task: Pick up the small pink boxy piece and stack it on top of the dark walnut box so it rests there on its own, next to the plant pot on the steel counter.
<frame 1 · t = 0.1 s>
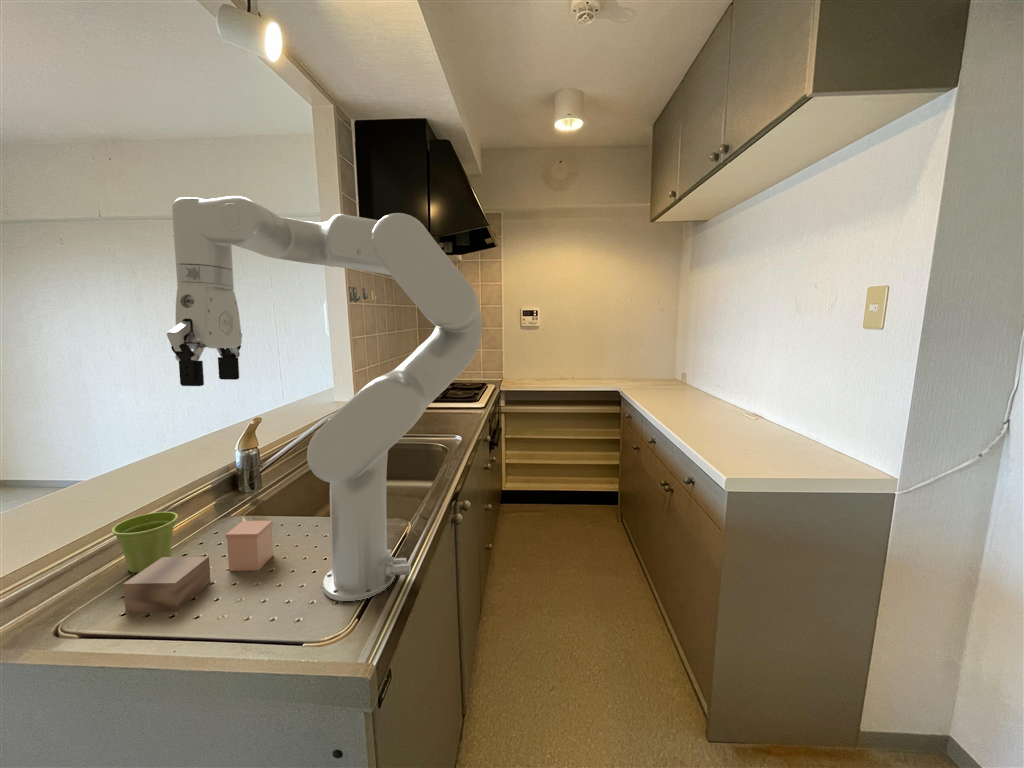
hand: (212, 382, 70), 37 cm above the table, tool pointing down, fingers open, 9 cm apart
walnut box: (170, 596, 70), on the table
plant pot: (149, 565, 79), on the table
pink boxy piece: (251, 562, 81), on the table
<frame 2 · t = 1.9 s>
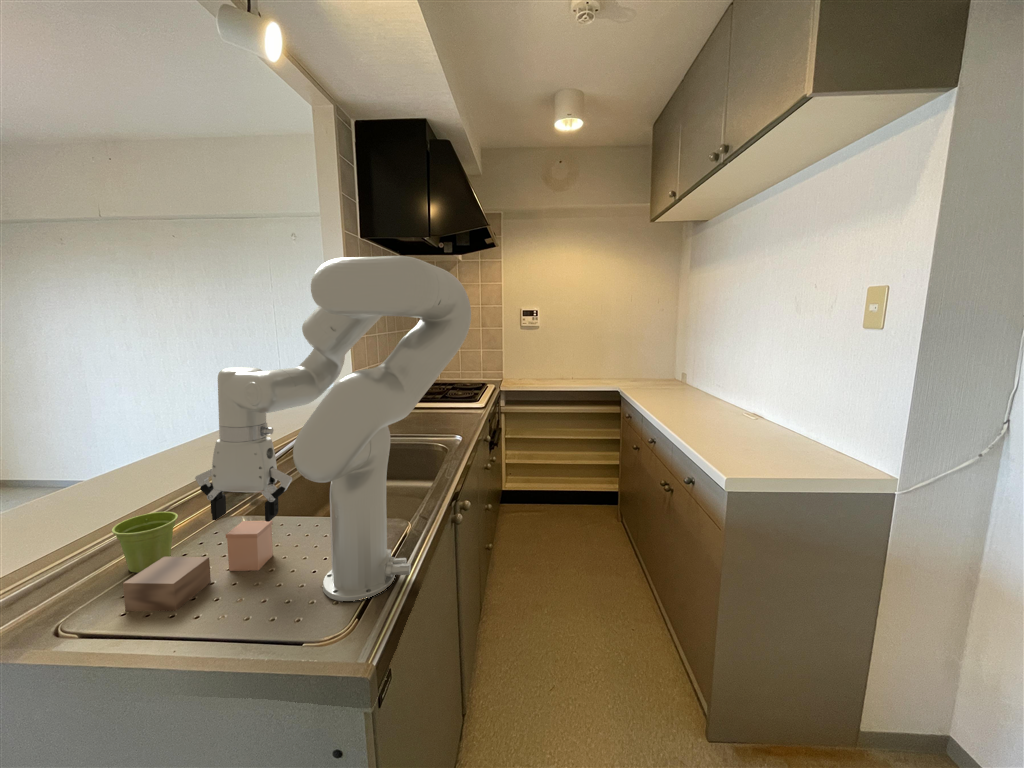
hand: (245, 517, 80), 9 cm above the table, tool pointing down, fingers open, 9 cm apart
nothing on the table moved.
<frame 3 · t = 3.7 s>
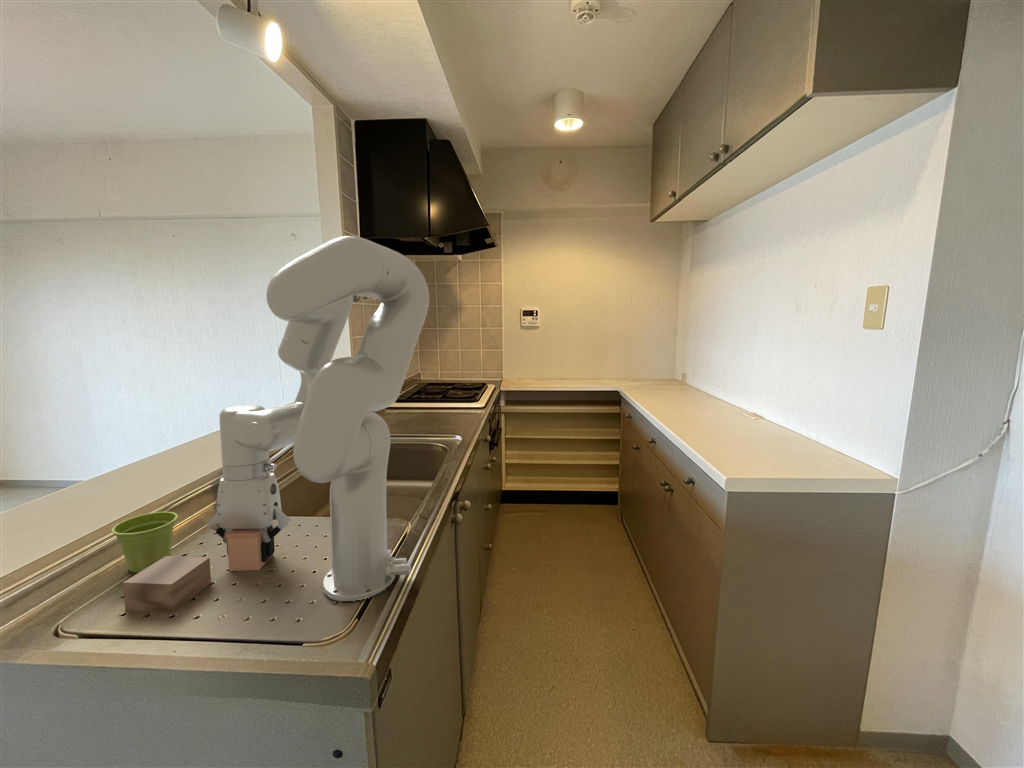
hand: (251, 557, 81), 1 cm above the table, tool pointing down, fingers closed on pink boxy piece, 5 cm apart
pink boxy piece: (251, 562, 81), on the table, touching gripper
everything else where it was.
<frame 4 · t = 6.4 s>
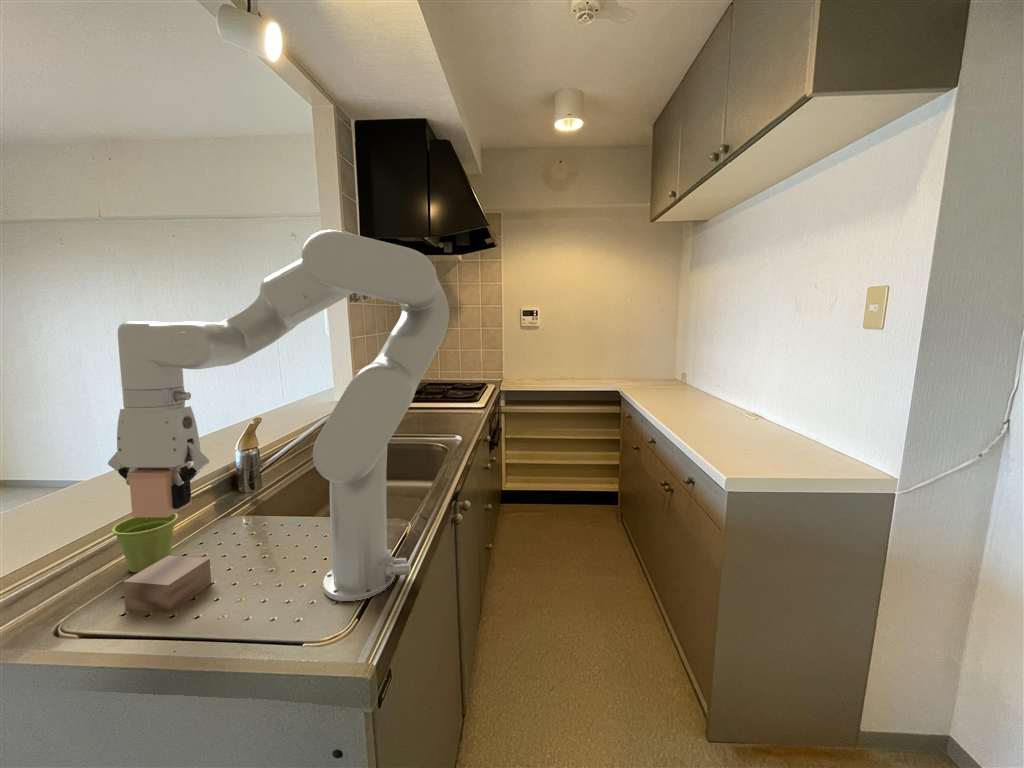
hand: (162, 504, 68), 16 cm above the table, tool pointing down, fingers closed on pink boxy piece, 5 cm apart
pink boxy piece: (163, 510, 68), point 15 cm above the table, touching gripper
everything else where it was.
when the fingers open (7 cm above the table, at t = 9.2 s): pink boxy piece stays where it is, resting on walnut box.
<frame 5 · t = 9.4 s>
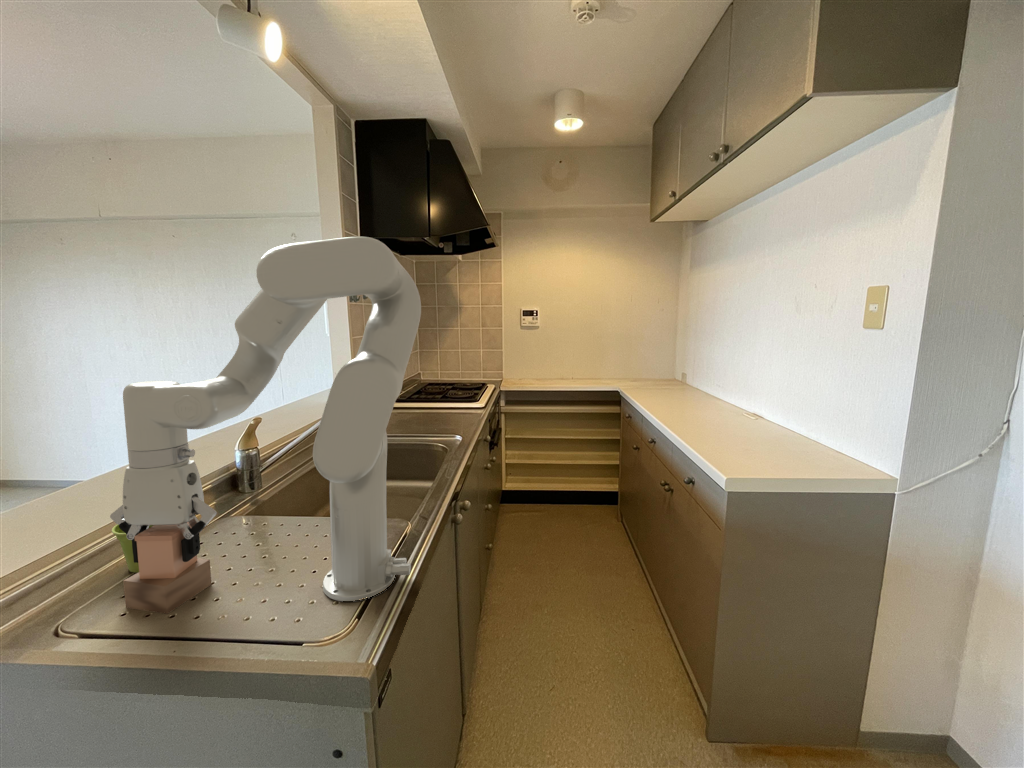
hand: (167, 557, 69), 7 cm above the table, tool pointing down, fingers open, 7 cm apart
walnut box: (170, 596, 70), on the table, touching pink boxy piece
pink boxy piece: (169, 569, 70), point 5 cm above the table, touching walnut box
everything else where it was.
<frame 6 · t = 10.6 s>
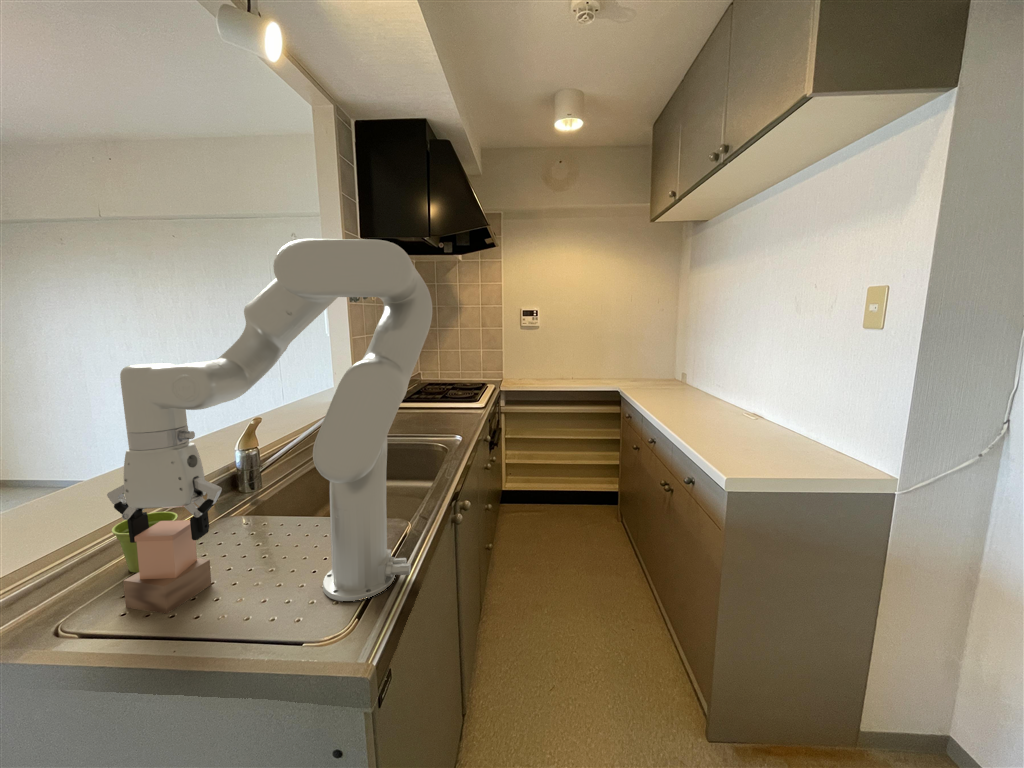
hand: (170, 537, 69), 10 cm above the table, tool pointing down, fingers open, 9 cm apart
walnut box: (170, 596, 70), on the table
pink boxy piece: (169, 569, 70), point 5 cm above the table
everything else where it was.
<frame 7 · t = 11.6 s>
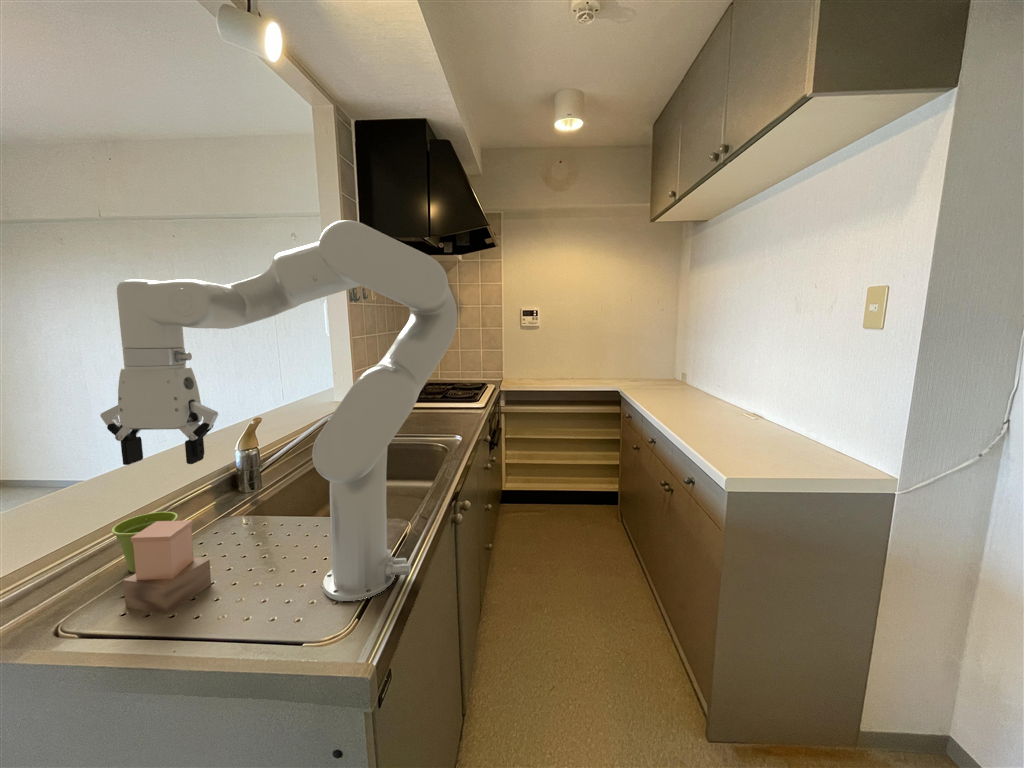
hand: (164, 462, 68), 23 cm above the table, tool pointing down, fingers open, 9 cm apart
walnut box: (170, 596, 70), on the table, touching pink boxy piece
pink boxy piece: (166, 569, 69), point 5 cm above the table, touching walnut box
everything else where it was.
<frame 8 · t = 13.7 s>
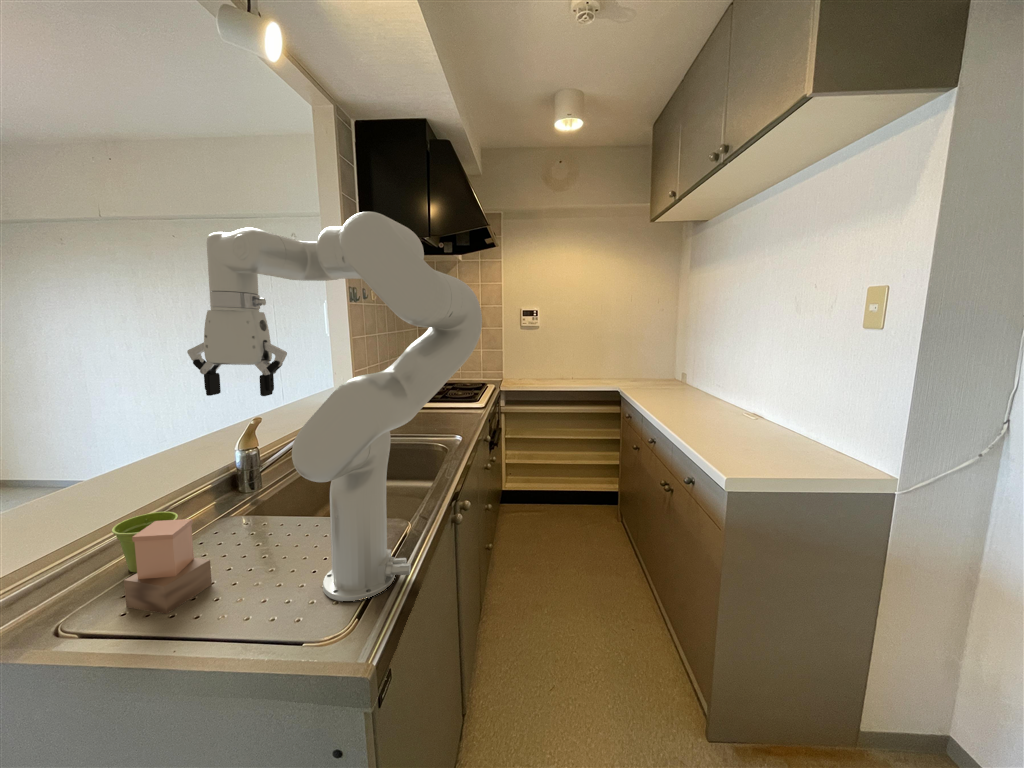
hand: (240, 394, 78), 33 cm above the table, tool pointing down, fingers open, 9 cm apart
nothing on the table moved.
at the end: pink boxy piece 0.6 cm off-centre on the walnut box, point 5.0 cm above the walnut box's base; pink boxy piece tilted 1°; the gripper is holding nothing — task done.
